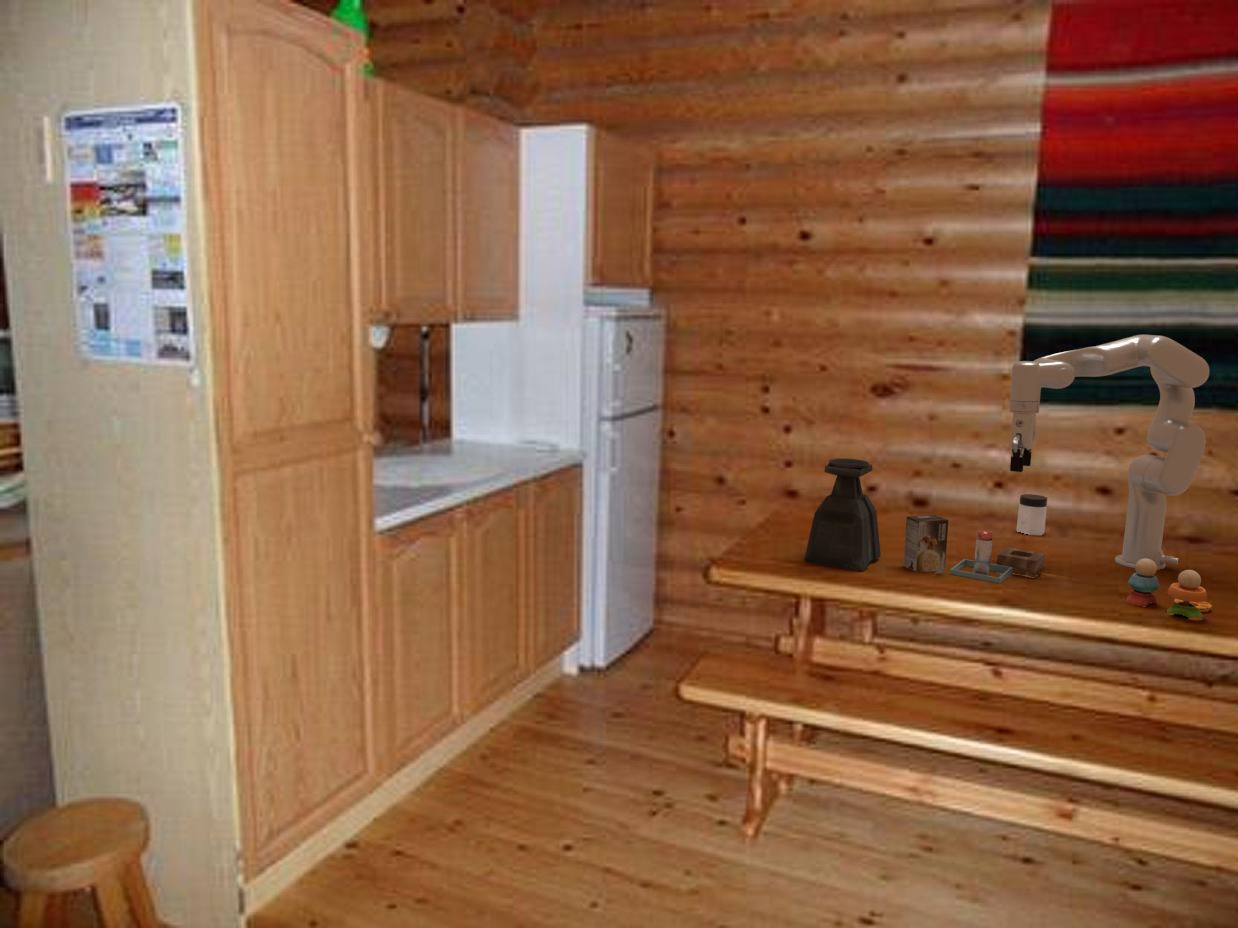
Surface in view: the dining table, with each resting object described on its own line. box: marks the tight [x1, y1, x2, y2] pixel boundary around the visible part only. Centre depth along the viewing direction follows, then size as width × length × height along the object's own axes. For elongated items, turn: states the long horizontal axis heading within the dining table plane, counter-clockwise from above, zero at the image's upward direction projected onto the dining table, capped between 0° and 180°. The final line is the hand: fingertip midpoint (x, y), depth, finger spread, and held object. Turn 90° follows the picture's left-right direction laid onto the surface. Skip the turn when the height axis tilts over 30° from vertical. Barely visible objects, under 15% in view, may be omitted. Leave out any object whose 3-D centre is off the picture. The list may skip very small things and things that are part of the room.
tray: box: [949, 558, 1013, 584], centre depth 255 cm, size 13×13×2 cm
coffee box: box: [903, 514, 949, 575], centre depth 255 cm, size 9×6×16 cm
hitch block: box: [996, 546, 1045, 578], centre depth 262 cm, size 10×10×5 cm
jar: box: [1016, 493, 1048, 536], centre depth 305 cm, size 9×8×12 cm
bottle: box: [803, 457, 882, 572], centre depth 259 cm, size 18×16×30 cm
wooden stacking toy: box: [1125, 558, 1213, 618], centre depth 230 cm, size 18×17×12 cm
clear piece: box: [972, 529, 994, 576], centre depth 255 cm, size 4×4×12 cm
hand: (1020, 468), depth 261 cm, fingers open, 9 cm apart
